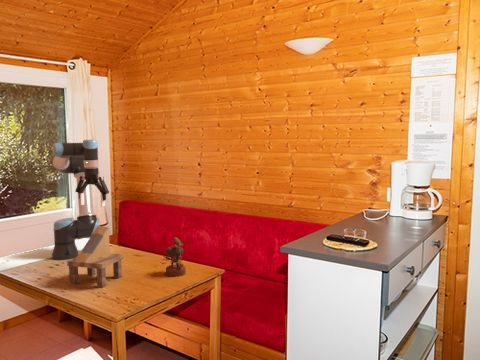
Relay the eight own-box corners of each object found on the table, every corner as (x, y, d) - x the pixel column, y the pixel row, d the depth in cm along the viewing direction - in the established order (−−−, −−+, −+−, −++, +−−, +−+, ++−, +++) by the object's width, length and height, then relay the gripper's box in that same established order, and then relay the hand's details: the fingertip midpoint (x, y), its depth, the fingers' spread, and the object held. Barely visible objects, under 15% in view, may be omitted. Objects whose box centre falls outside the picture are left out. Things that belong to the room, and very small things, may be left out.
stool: (68, 284, 208) (67, 261, 207) (90, 273, 226) (89, 251, 224) (102, 288, 203) (101, 264, 202) (123, 276, 220) (122, 254, 219)
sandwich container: (74, 260, 208) (72, 231, 206) (98, 253, 221) (97, 225, 219) (85, 263, 203) (84, 233, 202) (110, 255, 216) (109, 227, 215)
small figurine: (192, 273, 225) (189, 237, 221) (178, 280, 216) (174, 243, 213) (172, 268, 234) (169, 233, 230) (157, 274, 225) (154, 239, 222)
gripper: (67, 167, 231) (69, 205, 233) (106, 169, 223) (108, 208, 226) (76, 166, 238) (78, 203, 240) (114, 167, 230) (115, 205, 233)
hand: (92, 205), depth 233 cm, fingers open, 13 cm apart
